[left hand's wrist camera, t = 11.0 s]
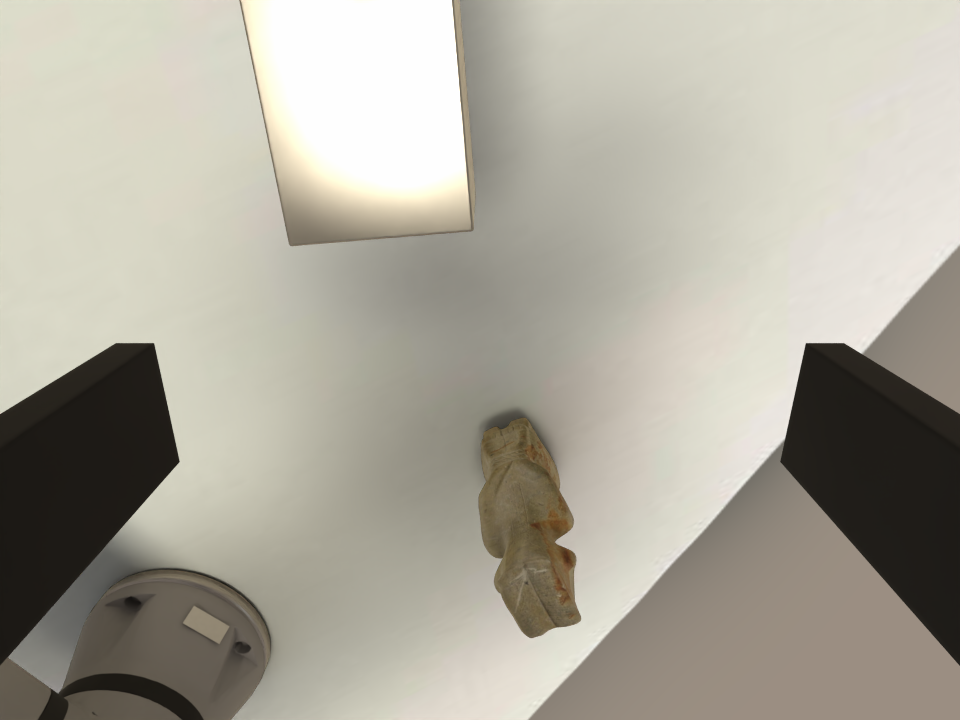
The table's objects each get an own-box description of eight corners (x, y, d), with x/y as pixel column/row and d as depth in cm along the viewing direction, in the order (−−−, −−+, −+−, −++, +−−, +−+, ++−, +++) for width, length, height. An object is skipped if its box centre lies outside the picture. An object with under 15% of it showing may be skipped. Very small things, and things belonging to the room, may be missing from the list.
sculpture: (497, 499, 47) (503, 658, 33) (465, 422, 45) (458, 560, 31) (568, 478, 46) (605, 632, 32) (540, 399, 44) (568, 529, 30)
